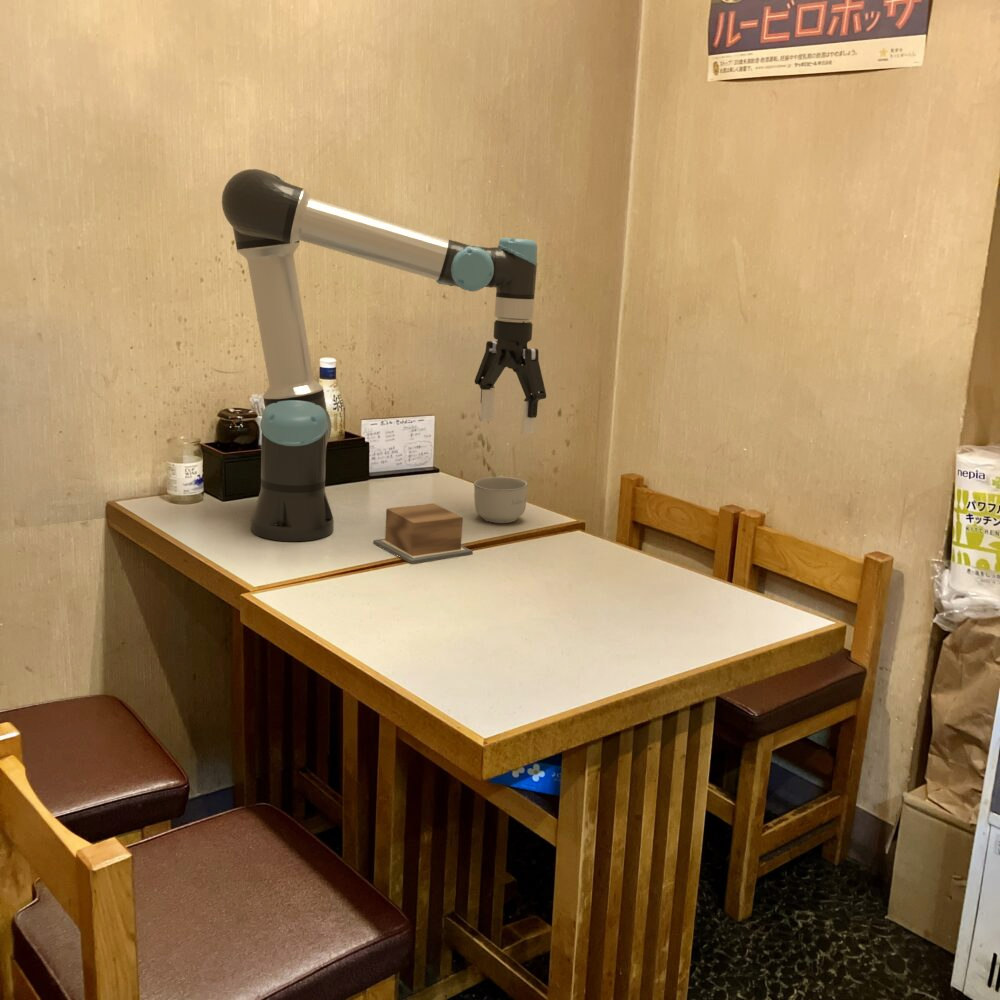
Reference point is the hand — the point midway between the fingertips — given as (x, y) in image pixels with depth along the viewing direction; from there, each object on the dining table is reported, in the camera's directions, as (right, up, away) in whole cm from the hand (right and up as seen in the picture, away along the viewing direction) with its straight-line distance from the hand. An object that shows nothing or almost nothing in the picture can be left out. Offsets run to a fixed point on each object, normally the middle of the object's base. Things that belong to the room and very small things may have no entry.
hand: (506, 427), depth 200 cm
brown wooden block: (-15, -23, -19) cm, 33 cm away
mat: (-15, -23, -19) cm, 34 cm away
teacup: (-1, -18, +5) cm, 19 cm away
